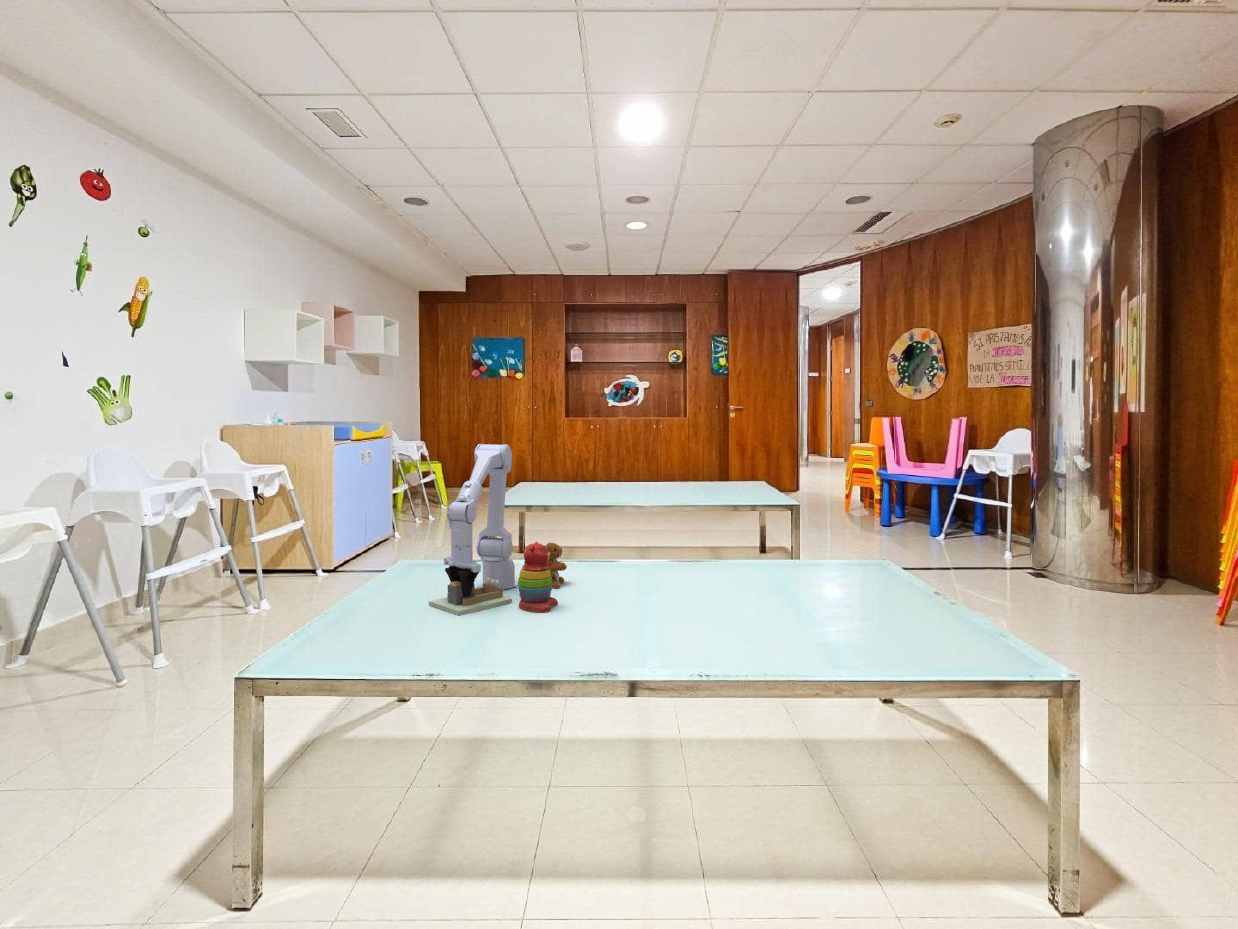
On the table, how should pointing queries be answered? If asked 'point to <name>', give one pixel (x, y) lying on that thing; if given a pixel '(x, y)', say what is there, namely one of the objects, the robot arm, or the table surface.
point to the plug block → (457, 593)
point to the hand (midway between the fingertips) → (462, 594)
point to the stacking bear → (536, 580)
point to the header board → (475, 600)
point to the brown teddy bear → (555, 564)
